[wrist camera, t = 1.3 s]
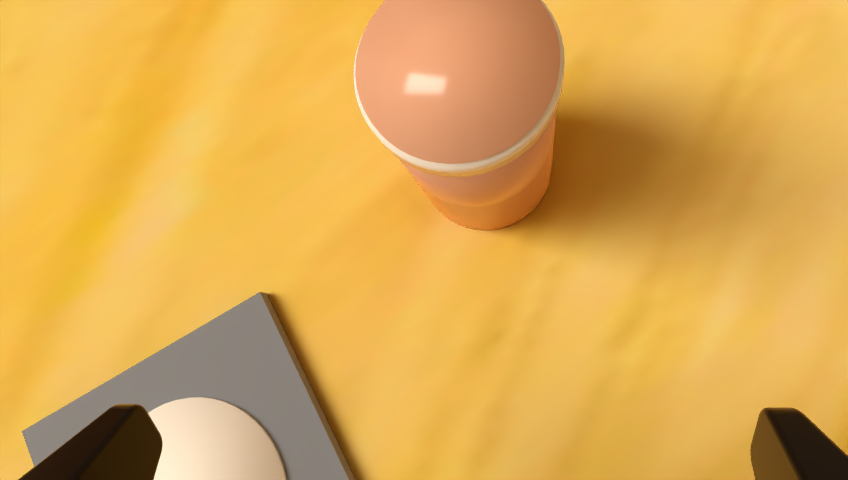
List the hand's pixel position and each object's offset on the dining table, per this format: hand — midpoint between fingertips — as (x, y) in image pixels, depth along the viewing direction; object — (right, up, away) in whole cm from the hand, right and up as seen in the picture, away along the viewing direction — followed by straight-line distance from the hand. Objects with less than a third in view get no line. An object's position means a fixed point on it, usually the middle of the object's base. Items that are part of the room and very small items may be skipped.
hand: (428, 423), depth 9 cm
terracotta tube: (+2, +5, +14) cm, 15 cm away
